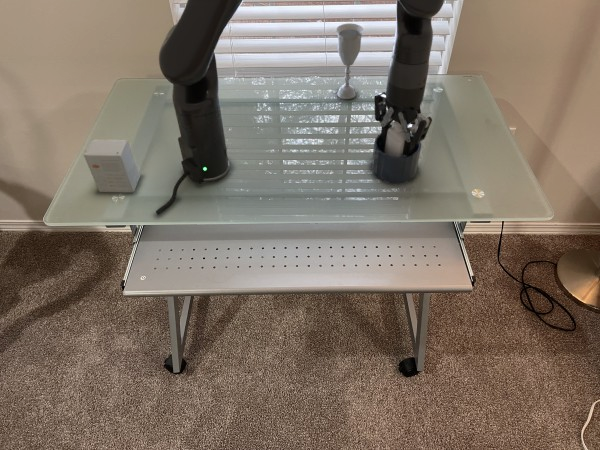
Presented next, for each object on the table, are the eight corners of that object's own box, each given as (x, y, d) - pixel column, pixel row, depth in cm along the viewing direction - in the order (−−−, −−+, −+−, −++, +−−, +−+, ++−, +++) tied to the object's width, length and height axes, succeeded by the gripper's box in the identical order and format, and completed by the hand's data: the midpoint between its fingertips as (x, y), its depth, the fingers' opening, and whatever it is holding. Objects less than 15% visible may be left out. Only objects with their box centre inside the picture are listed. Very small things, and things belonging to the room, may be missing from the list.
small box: (141, 176, 115) (128, 139, 107) (133, 193, 111) (120, 155, 103) (106, 175, 115) (92, 138, 108) (98, 192, 111) (82, 154, 104)
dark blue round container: (395, 189, 110) (399, 164, 105) (362, 167, 116) (364, 142, 111) (425, 169, 115) (430, 144, 110) (392, 149, 120) (395, 124, 115)
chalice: (357, 102, 135) (361, 37, 122) (332, 100, 136) (334, 35, 123) (360, 88, 140) (365, 24, 127) (336, 85, 141) (338, 22, 128)
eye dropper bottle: (385, 168, 112) (392, 123, 103) (383, 153, 116) (389, 108, 107) (405, 168, 112) (413, 123, 103) (402, 153, 116) (409, 108, 107)
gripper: (367, 70, 101) (361, 138, 113) (423, 99, 93) (410, 169, 105) (392, 57, 104) (383, 125, 116) (448, 85, 97) (433, 154, 109)
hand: (396, 146), depth 111 cm, fingers closed on eye dropper bottle, 5 cm apart
